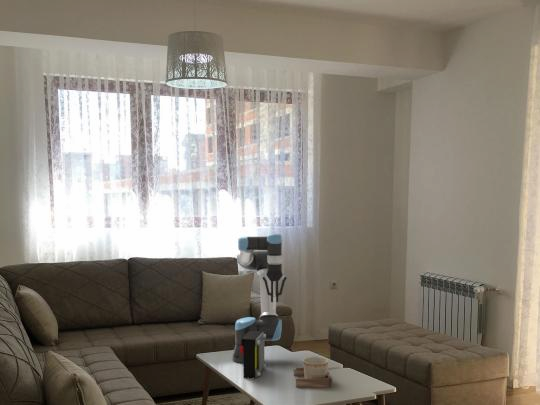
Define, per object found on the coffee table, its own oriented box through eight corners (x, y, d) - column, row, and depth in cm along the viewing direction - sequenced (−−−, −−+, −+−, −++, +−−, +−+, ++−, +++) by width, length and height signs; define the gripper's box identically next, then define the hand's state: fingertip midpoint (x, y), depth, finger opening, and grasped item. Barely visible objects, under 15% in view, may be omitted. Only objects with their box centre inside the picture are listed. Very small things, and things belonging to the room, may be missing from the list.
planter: (301, 377, 279) (301, 356, 279) (325, 376, 280) (325, 356, 280) (305, 385, 266) (305, 364, 266) (330, 384, 267) (330, 363, 267)
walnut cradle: (293, 375, 282) (293, 367, 282) (326, 374, 283) (326, 367, 283) (295, 387, 264) (295, 379, 264) (331, 387, 264) (331, 378, 264)
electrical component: (259, 379, 276) (259, 339, 276) (239, 377, 278) (239, 338, 278) (266, 368, 293) (266, 331, 293) (248, 367, 295) (248, 330, 295)
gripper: (262, 264, 280) (262, 310, 280) (287, 264, 280) (287, 309, 280) (262, 262, 287) (262, 307, 287) (286, 262, 288) (286, 307, 288)
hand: (274, 308), depth 284 cm, fingers closed
